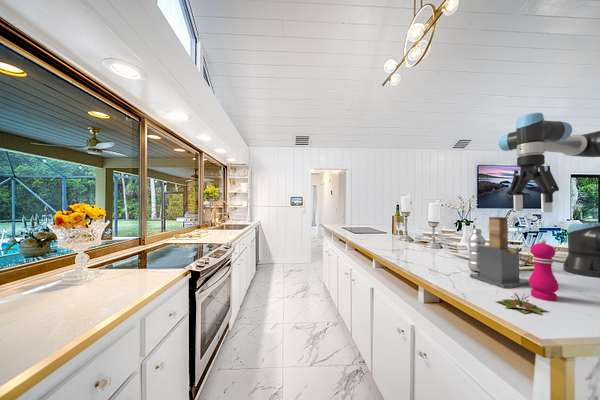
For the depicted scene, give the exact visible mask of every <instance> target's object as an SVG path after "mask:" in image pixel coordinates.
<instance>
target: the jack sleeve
mask: <svg viewBox="0 0 600 400" xmlns="http://www.w3.org/2000/svg"><path fill="white" fill-rule="evenodd" d="M479 247H480V272H478V273H469V278H470V277H471V279H473V278H474V280H476V279H477V281H479V280H480V282H482V283H483V282H484V283H485V284H489V285H491V286H494V287H495V286H496V287H498V288H502V289H511V288H510V287H512V288H521V287H520V286H522V287H529V286H530V285H529V280H526V279H522V278H520V249H519V248H515V247H509V246H508V248H506V249H498V248H493V247H489V245H485V246H479ZM530 287H531V286H530Z"/></svg>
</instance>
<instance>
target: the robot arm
mask: <svg viewBox="0 0 600 400" xmlns="http://www.w3.org/2000/svg"><path fill="white" fill-rule="evenodd" d="M515 124H516V126H515V131H513V132H508V133H506V134H503V135H501V136H500V137H499V139H498V148H500V149H501V150H502V151H505V152H507V151H508V152H509V151H513V150H516V157H517V158H516V166H517V167H518V168H520V169H519V170H514V171H513V177H512V181H511V185H510V187H509V191H508V194H511V195H512V196H513V197H512V199H513V211H514V212H523V211H524V208H523V207H524V203H523V202H524V199H523V195H524V194H523V193H522V192H523V191H524V190H525V187H526V186H527V185H528V183H529V182H530V181H534V183H536V185H537V186H538V188H539V189H540V190H541V194H540V200H541V202H540V204H541V206H540V207H541V213H553V202H554V197H553V196H554V193H555V192H559V191H560V190H559V186H558V184H557V182H556V179H555V177H554V176H553V174H552V172H551V166H550V165H545V155H544V154H545V153H546V152H547V153H548V152H549V153H560V154H563V155H565V156H570V157H580V158H581V157H582V158H600V130H597V131H593V132H592V131H591V132H588V133H584V134H572V133H573V127H572V125H571V124H570V123H568V122H566V121H560V120H545V118H544V114H543V113H542V112H532V113H531V112H530V113H527V114H523V115H521V116H518V117H517V119H516V123H515ZM567 251H568V253H567V254H568V255H567V257H566V258H565V261H564V263H563V266H562V268H563V271H565V272H567V273H571V274H575V275H581V276H586V277H587V276H588V277H594V278H600V222H597V223H596V222H595V223H593V222H591V223H572V224H569V225H568V227H567Z"/></svg>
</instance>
